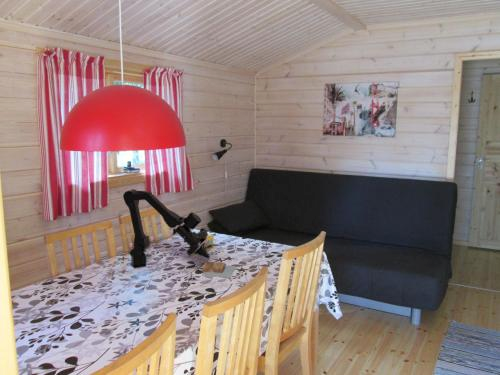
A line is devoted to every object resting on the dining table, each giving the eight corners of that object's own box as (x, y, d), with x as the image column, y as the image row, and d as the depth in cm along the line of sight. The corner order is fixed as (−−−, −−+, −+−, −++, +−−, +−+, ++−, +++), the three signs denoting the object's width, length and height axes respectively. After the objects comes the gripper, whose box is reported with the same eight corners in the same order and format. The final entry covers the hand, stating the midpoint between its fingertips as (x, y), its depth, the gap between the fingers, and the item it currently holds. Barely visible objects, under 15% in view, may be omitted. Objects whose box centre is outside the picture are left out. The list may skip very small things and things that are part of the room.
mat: (202, 275, 209) (202, 275, 209) (209, 264, 225) (209, 264, 225) (230, 277, 207) (230, 276, 207) (236, 266, 223) (236, 266, 223)
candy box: (194, 254, 241) (194, 240, 240) (191, 254, 243) (191, 239, 241) (213, 248, 254) (213, 234, 253) (211, 247, 255) (211, 234, 254)
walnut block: (202, 265, 213) (222, 267, 212) (205, 261, 220) (224, 262, 218) (202, 271, 213) (222, 273, 212) (205, 267, 220) (224, 268, 219)
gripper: (193, 229, 205) (215, 252, 205) (202, 220, 223) (223, 242, 223) (177, 244, 207) (199, 267, 207) (188, 234, 225) (208, 255, 225)
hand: (208, 257), depth 216 cm, fingers closed
